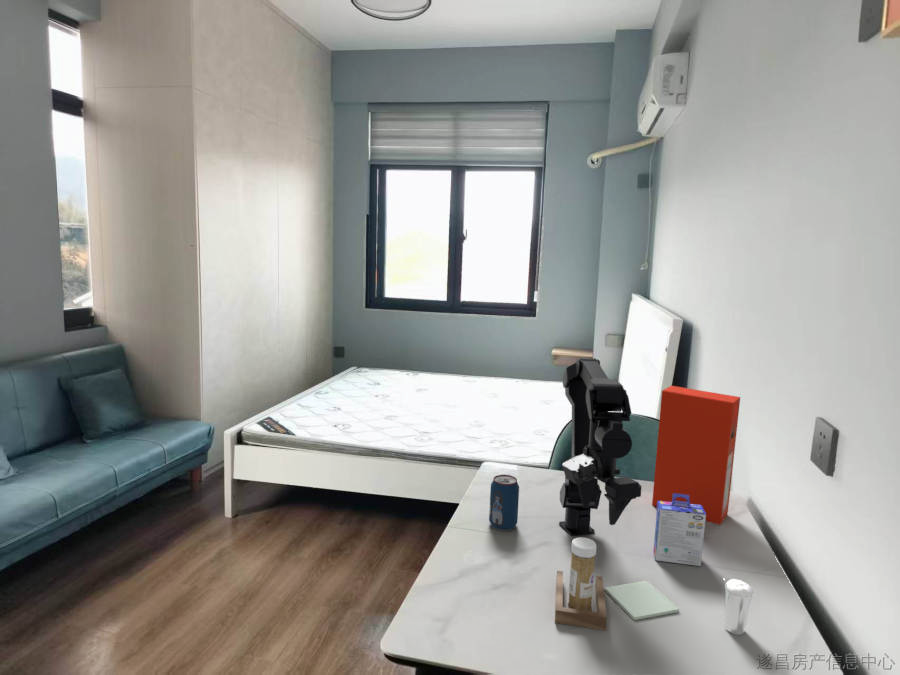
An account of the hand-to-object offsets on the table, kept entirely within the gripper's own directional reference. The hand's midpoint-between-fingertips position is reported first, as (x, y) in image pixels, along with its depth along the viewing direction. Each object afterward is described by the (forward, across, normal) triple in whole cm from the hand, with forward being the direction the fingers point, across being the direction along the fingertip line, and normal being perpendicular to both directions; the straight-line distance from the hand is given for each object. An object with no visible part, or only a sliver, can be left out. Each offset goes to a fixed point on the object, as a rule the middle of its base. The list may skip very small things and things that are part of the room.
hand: (598, 515), depth 124 cm
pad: (+13, +11, +3) cm, 17 cm away
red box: (+12, -18, +43) cm, 48 cm away
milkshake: (+14, +24, +13) cm, 31 cm away
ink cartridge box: (+13, +1, +21) cm, 25 cm away
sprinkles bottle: (+13, +9, -10) cm, 19 cm away
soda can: (+12, -26, -9) cm, 29 cm away
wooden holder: (+13, +8, -10) cm, 18 cm away
